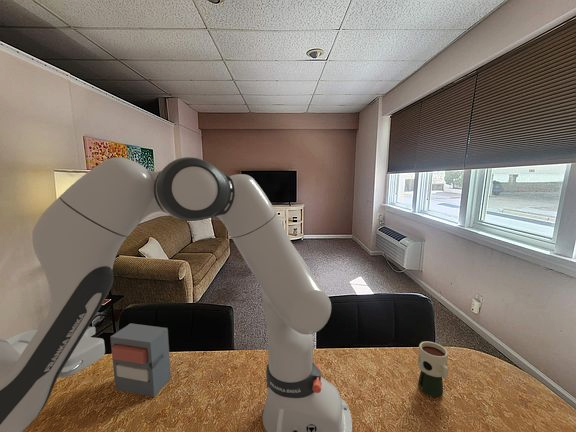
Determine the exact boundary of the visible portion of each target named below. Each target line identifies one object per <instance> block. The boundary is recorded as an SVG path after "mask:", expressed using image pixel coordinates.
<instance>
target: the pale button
mask: <svg viewBox="0 0 576 432" xmlns="http://www.w3.org/2000/svg"><path fill="white" fill-rule="evenodd" d="M116 370H117V376H118V377H123V378H129V379H134V380H140V381H145V382H148V381H149V380H150V377H149V368H143V367H137V366H131V365H125V364H117V365H116Z"/></svg>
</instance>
